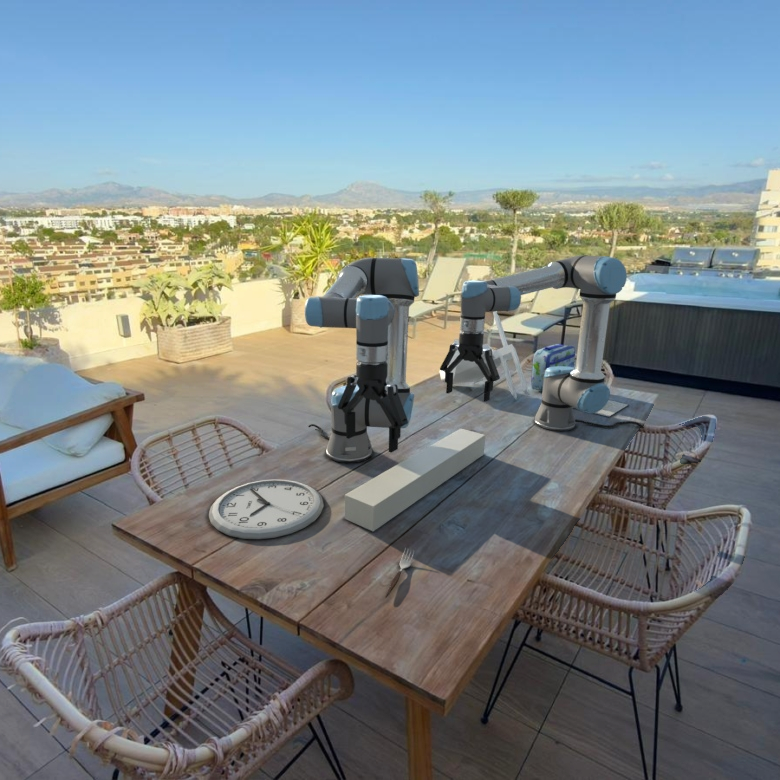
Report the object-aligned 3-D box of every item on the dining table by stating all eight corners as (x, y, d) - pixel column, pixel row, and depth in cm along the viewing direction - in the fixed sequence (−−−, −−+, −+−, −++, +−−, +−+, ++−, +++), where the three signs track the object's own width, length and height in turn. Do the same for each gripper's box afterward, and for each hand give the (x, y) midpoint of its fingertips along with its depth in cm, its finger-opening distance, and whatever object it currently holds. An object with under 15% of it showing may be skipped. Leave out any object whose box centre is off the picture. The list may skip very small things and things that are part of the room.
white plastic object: (461, 429, 252) (437, 405, 227) (444, 352, 274) (420, 323, 250) (535, 404, 240) (518, 377, 215) (510, 326, 262) (492, 293, 237)
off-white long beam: (459, 447, 182) (460, 428, 180) (483, 454, 177) (485, 434, 174) (344, 519, 136) (344, 494, 134) (373, 531, 131) (373, 506, 129)
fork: (379, 598, 107) (379, 590, 107) (404, 554, 122) (404, 547, 121) (391, 601, 106) (391, 593, 106) (415, 557, 121) (415, 549, 120)
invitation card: (608, 416, 214) (573, 407, 224) (608, 416, 214) (573, 408, 224) (628, 404, 229) (594, 396, 238) (628, 405, 229) (594, 397, 238)
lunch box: (547, 396, 238) (552, 351, 232) (526, 391, 246) (531, 347, 239) (574, 385, 256) (579, 343, 250) (554, 380, 263) (559, 340, 257)
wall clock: (321, 531, 127) (194, 535, 125) (321, 537, 128) (195, 541, 125) (325, 475, 156) (222, 477, 153) (325, 480, 156) (222, 482, 154)
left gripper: (323, 356, 129) (324, 435, 135) (405, 373, 115) (403, 461, 121) (343, 350, 135) (344, 427, 141) (424, 366, 120) (421, 451, 127)
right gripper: (431, 328, 167) (428, 391, 173) (503, 338, 153) (497, 407, 159) (443, 325, 172) (440, 386, 179) (514, 335, 158) (508, 401, 165)
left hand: (371, 443), depth 131 cm, fingers open, 13 cm apart
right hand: (467, 396), depth 169 cm, fingers open, 13 cm apart
